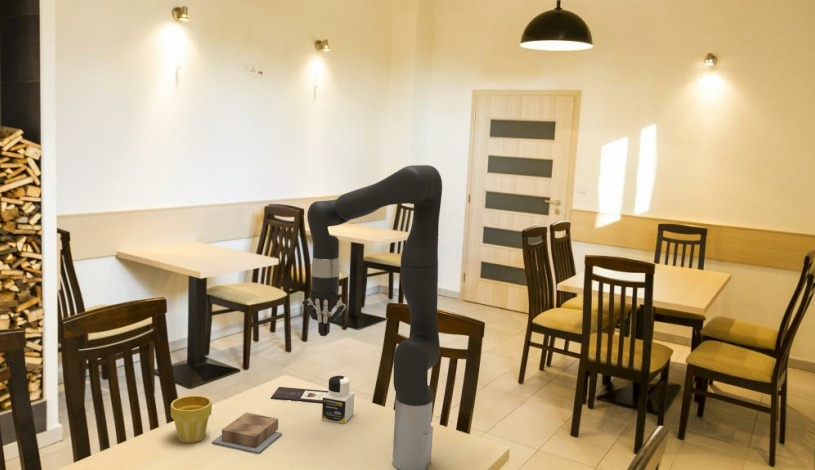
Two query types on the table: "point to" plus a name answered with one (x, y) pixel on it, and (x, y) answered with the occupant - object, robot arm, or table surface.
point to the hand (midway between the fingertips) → (323, 335)
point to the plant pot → (191, 417)
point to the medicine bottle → (338, 400)
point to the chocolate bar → (299, 395)
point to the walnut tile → (250, 429)
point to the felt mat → (256, 450)
